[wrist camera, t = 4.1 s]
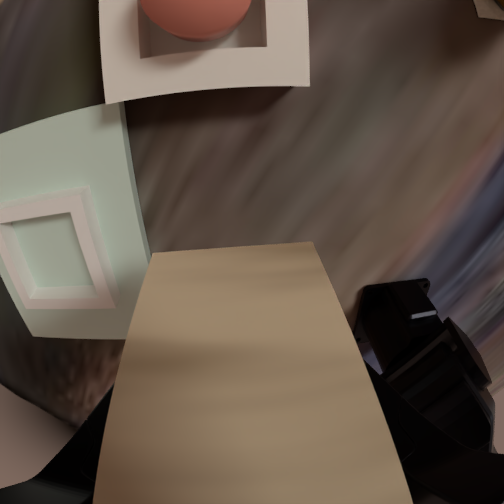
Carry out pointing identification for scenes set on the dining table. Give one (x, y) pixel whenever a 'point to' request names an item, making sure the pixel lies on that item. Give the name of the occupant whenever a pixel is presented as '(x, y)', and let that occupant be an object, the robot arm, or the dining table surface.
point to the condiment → (490, 9)
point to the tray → (72, 224)
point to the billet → (244, 389)
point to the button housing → (202, 52)
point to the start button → (197, 17)
